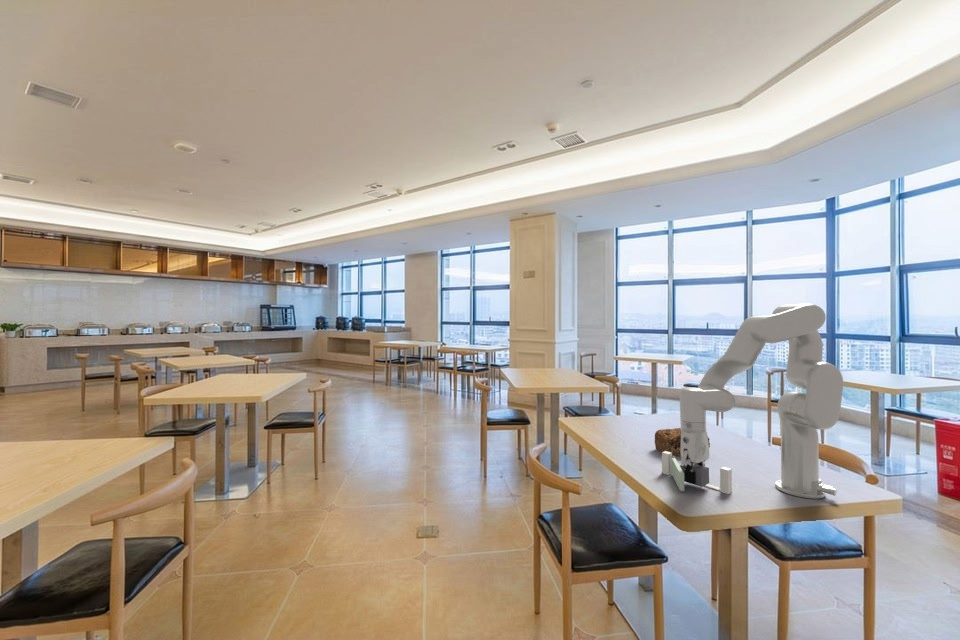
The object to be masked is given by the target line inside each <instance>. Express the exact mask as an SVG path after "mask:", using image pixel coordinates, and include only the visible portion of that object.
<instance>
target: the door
mask: <svg viewBox="0 0 960 640" xmlns="http://www.w3.org/2000/svg"><path fill="white" fill-rule="evenodd" d="M680 465H681V464H679V462H678V460H677V459H676V456H671V474H670V475H672V477H673V479H674V481H675V484H676V486H677V487H678V490H679V491H680V492H685V482H684V472H683V471H682V469H681V467H680Z"/></svg>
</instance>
